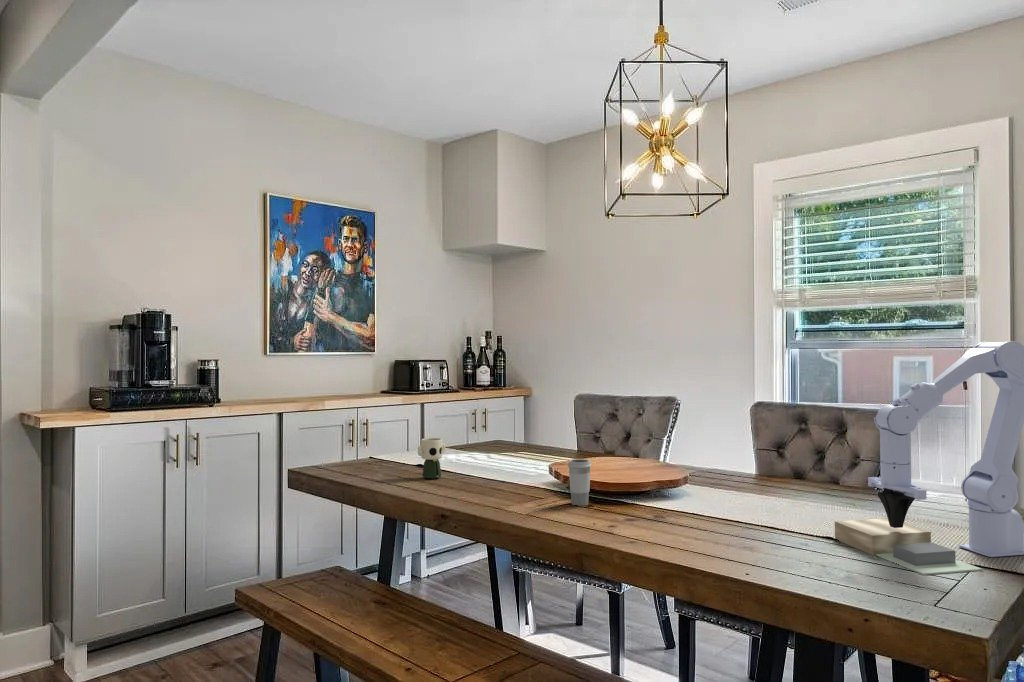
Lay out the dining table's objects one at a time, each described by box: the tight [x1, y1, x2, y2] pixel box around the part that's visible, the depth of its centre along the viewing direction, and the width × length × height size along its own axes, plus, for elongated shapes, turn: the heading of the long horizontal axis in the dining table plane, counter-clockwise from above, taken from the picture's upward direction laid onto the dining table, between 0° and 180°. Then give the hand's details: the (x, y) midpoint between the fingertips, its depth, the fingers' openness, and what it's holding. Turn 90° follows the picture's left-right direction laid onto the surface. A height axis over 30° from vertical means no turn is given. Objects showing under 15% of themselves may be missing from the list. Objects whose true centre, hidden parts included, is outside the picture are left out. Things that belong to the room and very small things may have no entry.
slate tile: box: [893, 541, 956, 566], centre depth 139 cm, size 9×6×2 cm, turn 101°
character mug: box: [417, 437, 446, 479], centre depth 230 cm, size 11×7×13 cm, turn 133°
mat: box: [875, 553, 983, 576], centre depth 138 cm, size 13×12×1 cm
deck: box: [834, 517, 932, 556], centre depth 151 cm, size 14×12×4 cm
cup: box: [566, 458, 593, 507], centre depth 191 cm, size 7×7×12 cm
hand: (896, 526), depth 146 cm, fingers closed
